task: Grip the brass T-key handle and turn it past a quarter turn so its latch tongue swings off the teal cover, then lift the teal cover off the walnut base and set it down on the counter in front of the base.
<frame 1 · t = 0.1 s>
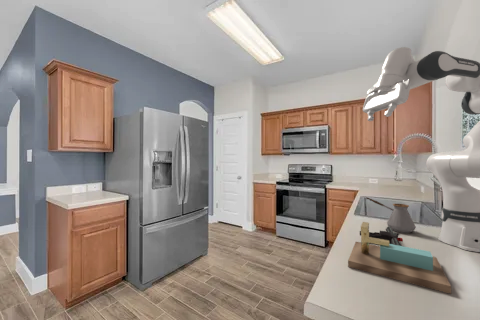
hand: (378, 118, 85), 52 cm above the counter, tool tilted 20°, fingers open, 8 cm apart
cover: (404, 261, 68), point 2 cm above the counter, touching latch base
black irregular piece: (380, 243, 88), on the counter
coffee pot: (388, 228, 108), on the counter
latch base: (393, 265, 69), on the counter
t key: (374, 240, 72), point 7 cm above the counter, hinge at 0.0°
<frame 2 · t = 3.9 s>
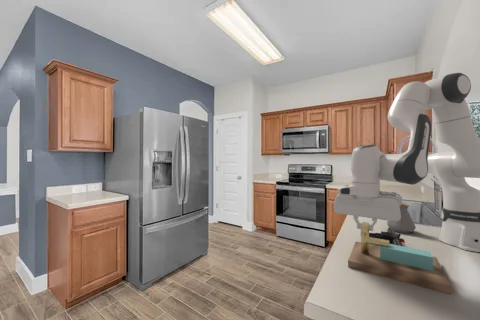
hand: (365, 229, 74), 10 cm above the counter, tool pointing down, fingers closed on t key, 2 cm apart
t key: (374, 240, 72), point 7 cm above the counter, hinge at 0.0°, touching gripper
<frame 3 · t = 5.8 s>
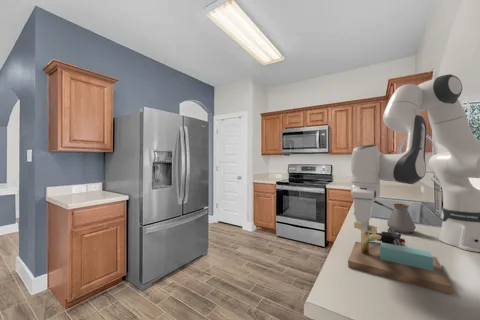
hand: (365, 229, 74), 10 cm above the counter, tool pointing down, fingers closed on t key, 3 cm apart
t key: (370, 237, 75), point 7 cm above the counter, hinge at 59.4°, touching gripper
everything else where it was.
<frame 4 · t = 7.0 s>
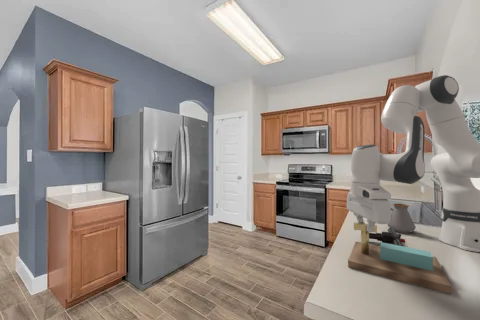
hand: (365, 229, 74), 10 cm above the counter, tool pointing down, fingers closed on t key, 3 cm apart
t key: (364, 235, 77), point 7 cm above the counter, hinge at 95.6°, touching gripper
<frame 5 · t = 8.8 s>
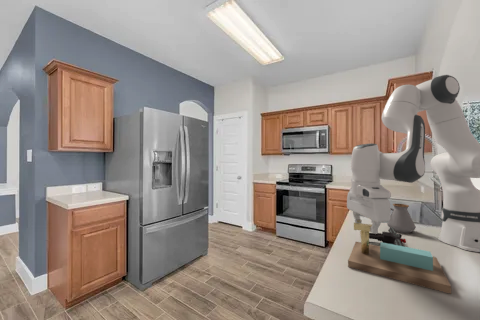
hand: (365, 228, 74), 11 cm above the counter, tool pointing down, fingers open, 8 cm apart
t key: (364, 235, 77), point 7 cm above the counter, hinge at 98.0°
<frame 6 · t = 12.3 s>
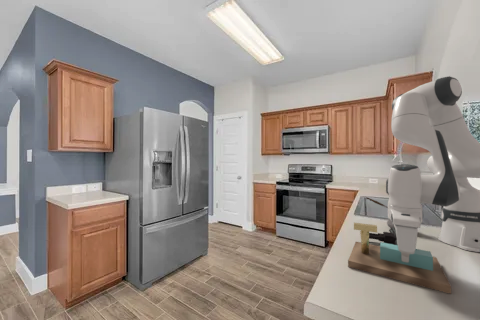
hand: (404, 257, 68), 3 cm above the counter, tool pointing down, fingers closed on cover, 5 cm apart
cover: (404, 261, 68), point 2 cm above the counter, touching gripper, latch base
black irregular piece: (384, 245, 87), on the counter, touching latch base
everything else where it was.
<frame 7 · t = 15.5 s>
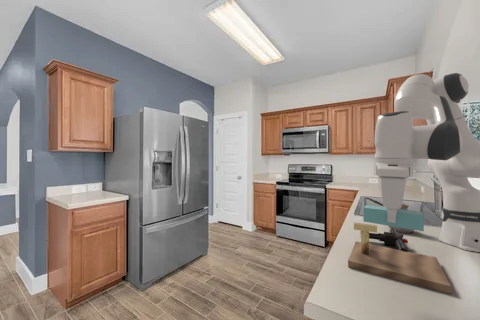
hand: (391, 219, 58), 18 cm above the counter, tool pointing down, fingers closed on cover, 5 cm apart
cover: (391, 224, 58), point 17 cm above the counter, touching gripper
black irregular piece: (384, 245, 86), on the counter
everything else where it was.
when the fingers open (3 cm above the counter, at t = 18.9 s): cover drops 2 cm, on the counter.
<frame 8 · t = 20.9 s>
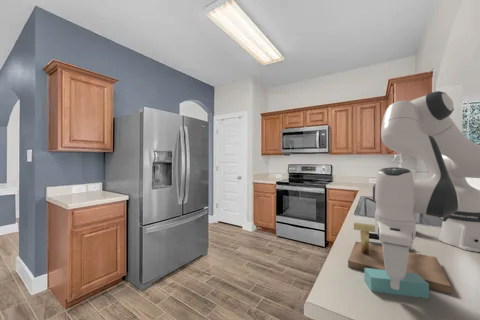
hand: (394, 279, 56), 3 cm above the counter, tool pointing down, fingers open, 8 cm apart
cover: (394, 290, 56), on the counter
at the end: t key at +98° (first picture: +0°); cover inside the target area (0.0 cm from its centre), on the counter; the gripper is holding nothing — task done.
